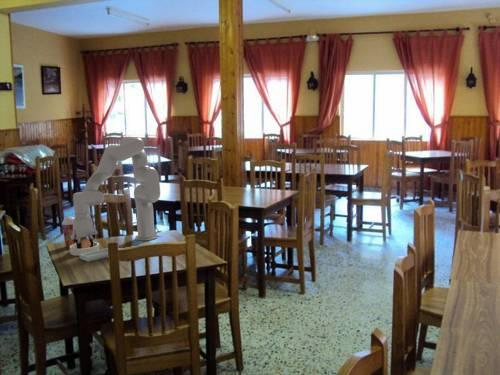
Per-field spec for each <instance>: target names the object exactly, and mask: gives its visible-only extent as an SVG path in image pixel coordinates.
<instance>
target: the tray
mask: <svg viewBox="0 0 500 375" xmlns="http://www.w3.org/2000/svg"><path fill="white" fill-rule="evenodd" d="M108 248H109V247H106V248H101V249H100V248H99V250H96V251H92V252H87V253H83V254H79V259H81V260H82V261H85V262H88V263H89V262H94V261H97V260H98V261H99V260H102V259H105V258H106V259H107V258H109V257H108Z"/></svg>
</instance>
